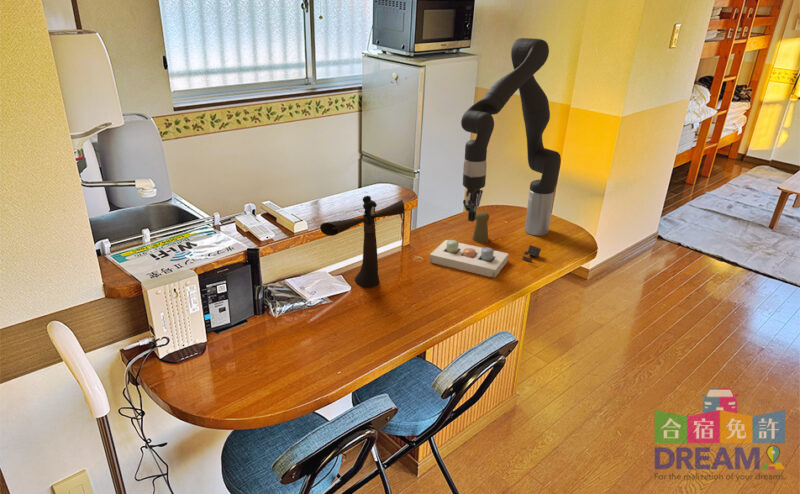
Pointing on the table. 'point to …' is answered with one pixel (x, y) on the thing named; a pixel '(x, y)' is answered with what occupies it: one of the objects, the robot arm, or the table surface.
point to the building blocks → (532, 252)
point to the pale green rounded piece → (452, 246)
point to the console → (469, 260)
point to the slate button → (487, 254)
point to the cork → (481, 227)
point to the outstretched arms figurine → (365, 237)
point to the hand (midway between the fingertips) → (471, 220)
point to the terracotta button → (469, 252)
